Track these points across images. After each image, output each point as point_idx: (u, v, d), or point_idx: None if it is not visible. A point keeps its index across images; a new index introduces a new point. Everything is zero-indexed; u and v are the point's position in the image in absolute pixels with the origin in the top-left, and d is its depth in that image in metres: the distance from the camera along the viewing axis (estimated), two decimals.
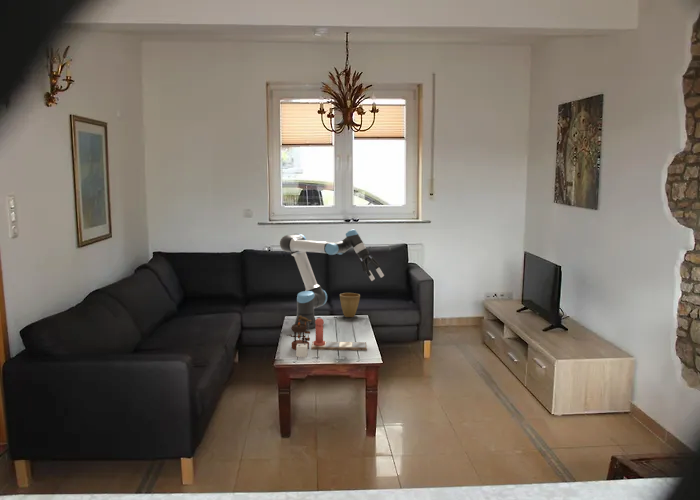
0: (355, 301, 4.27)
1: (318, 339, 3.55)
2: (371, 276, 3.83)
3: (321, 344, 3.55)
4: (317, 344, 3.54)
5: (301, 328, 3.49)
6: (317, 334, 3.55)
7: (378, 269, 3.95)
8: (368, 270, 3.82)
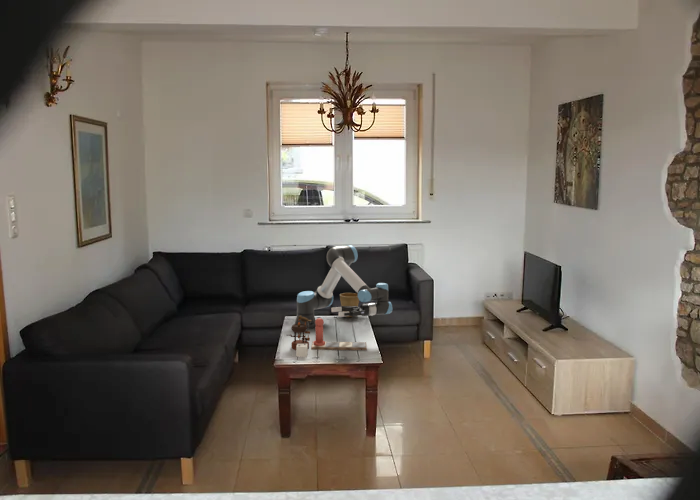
0: (355, 301, 4.27)
1: (318, 339, 3.55)
2: (342, 314, 3.53)
3: (321, 344, 3.55)
4: (317, 344, 3.54)
5: (301, 328, 3.49)
6: (317, 334, 3.55)
7: (340, 310, 3.67)
8: None
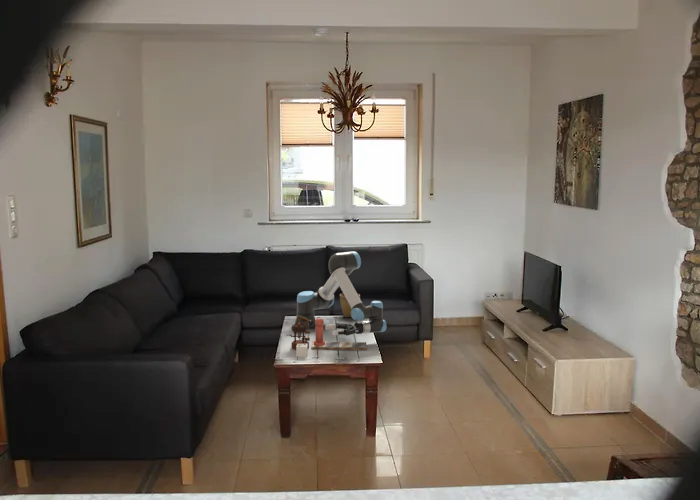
0: None
1: (318, 339, 3.55)
2: (336, 333, 3.53)
3: (321, 344, 3.55)
4: (317, 344, 3.54)
5: (301, 328, 3.49)
6: (317, 334, 3.55)
7: (334, 327, 3.66)
8: None
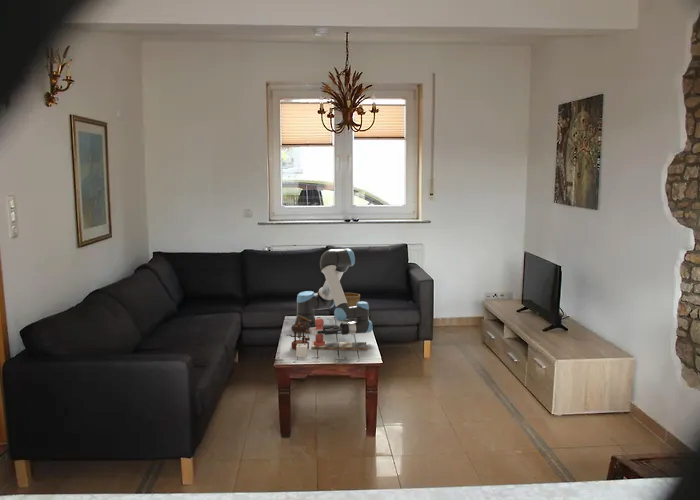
0: (355, 301, 4.27)
1: (318, 339, 3.55)
2: (316, 332, 3.53)
3: (321, 344, 3.55)
4: (317, 344, 3.54)
5: (301, 328, 3.49)
6: (317, 334, 3.55)
7: None
8: (323, 333, 3.54)
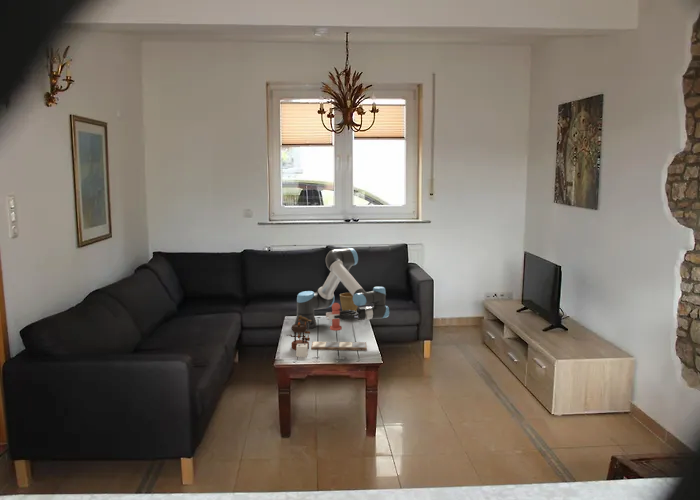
0: None
1: (335, 324, 3.53)
2: (332, 317, 3.51)
3: (338, 329, 3.52)
4: (334, 329, 3.52)
5: (301, 328, 3.49)
6: (334, 319, 3.53)
7: None
8: None
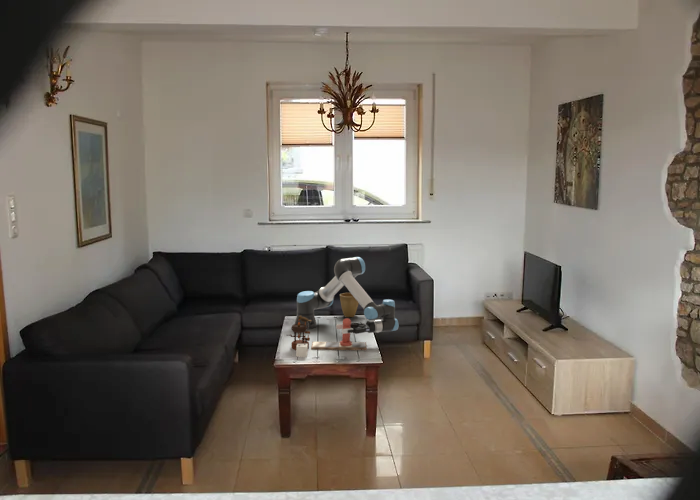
0: (355, 301, 4.27)
1: (345, 340, 3.55)
2: (346, 331, 3.51)
3: (348, 344, 3.55)
4: (344, 344, 3.54)
5: (301, 328, 3.49)
6: (344, 334, 3.55)
7: None
8: (353, 332, 3.52)
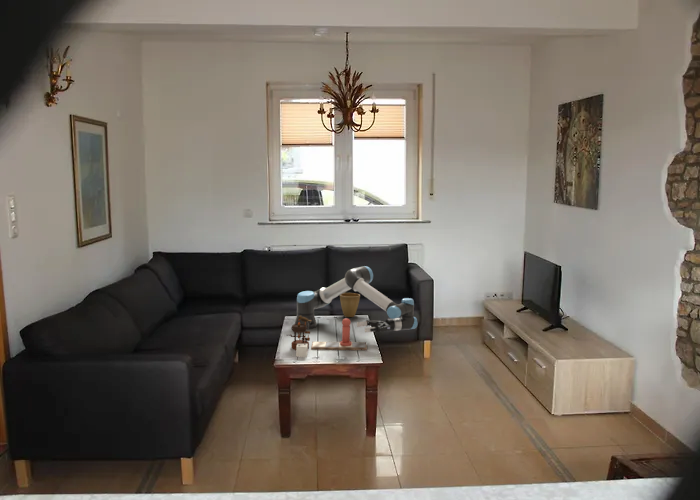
0: (355, 301, 4.27)
1: (345, 340, 3.55)
2: (369, 330, 3.54)
3: (348, 344, 3.55)
4: (344, 344, 3.54)
5: (301, 328, 3.49)
6: (344, 334, 3.55)
7: (365, 324, 3.68)
8: (376, 331, 3.55)
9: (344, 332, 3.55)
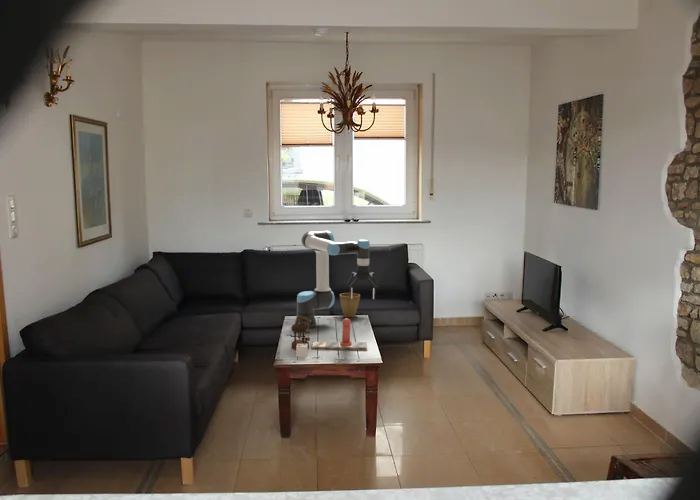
0: (355, 301, 4.27)
1: (345, 340, 3.55)
2: (351, 294, 3.69)
3: (348, 344, 3.55)
4: (344, 344, 3.54)
5: (301, 328, 3.49)
6: (344, 334, 3.55)
7: (373, 290, 3.68)
8: (349, 288, 3.67)
9: (344, 332, 3.55)
